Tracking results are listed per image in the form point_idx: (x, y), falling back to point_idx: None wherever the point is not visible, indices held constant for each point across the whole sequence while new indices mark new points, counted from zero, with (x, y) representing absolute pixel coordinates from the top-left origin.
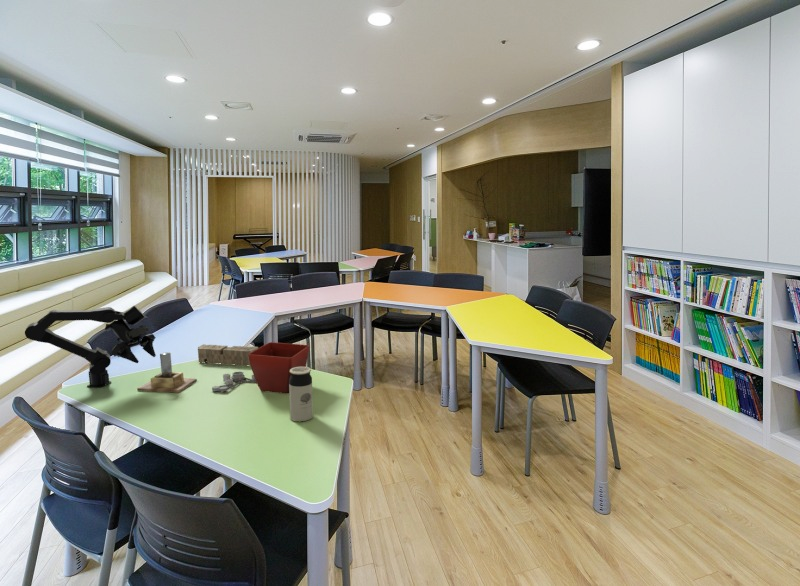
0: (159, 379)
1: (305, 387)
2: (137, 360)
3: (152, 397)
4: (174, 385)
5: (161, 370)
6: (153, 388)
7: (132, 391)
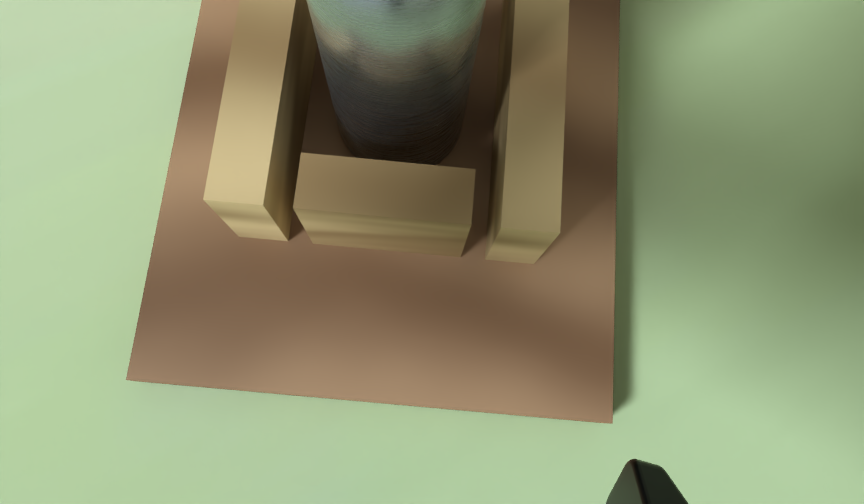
0: (565, 96)
1: None
2: (664, 494)
3: (783, 121)
4: None
5: (459, 56)
6: (598, 198)
7: None
